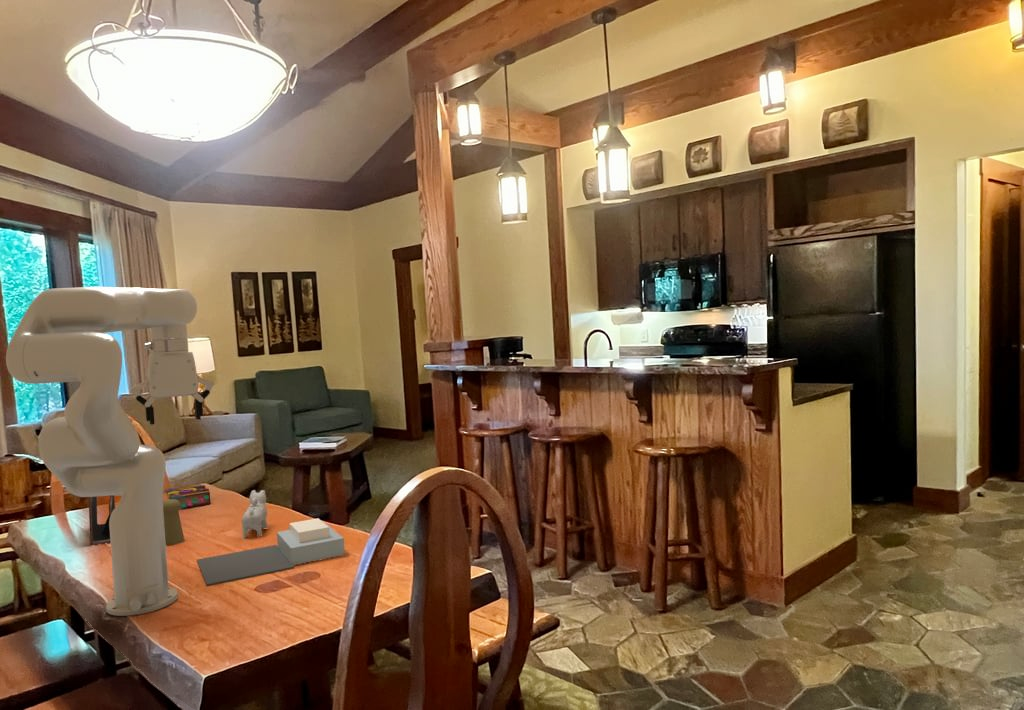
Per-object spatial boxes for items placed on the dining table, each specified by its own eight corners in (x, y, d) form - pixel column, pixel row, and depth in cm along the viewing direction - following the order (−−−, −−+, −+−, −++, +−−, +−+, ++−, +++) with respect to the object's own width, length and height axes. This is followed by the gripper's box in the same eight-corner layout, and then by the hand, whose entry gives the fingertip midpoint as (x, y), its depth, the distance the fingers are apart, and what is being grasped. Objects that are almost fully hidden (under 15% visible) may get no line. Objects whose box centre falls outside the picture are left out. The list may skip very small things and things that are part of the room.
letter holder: (90, 546, 183) (86, 493, 182) (95, 529, 201) (91, 480, 200) (133, 540, 188) (130, 487, 187) (134, 523, 205) (131, 475, 205)
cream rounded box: (329, 537, 166) (329, 527, 166) (299, 542, 162) (298, 532, 162) (318, 527, 175) (318, 518, 175) (290, 533, 171) (289, 523, 171)
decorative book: (203, 497, 236) (202, 482, 236) (212, 506, 223) (211, 490, 222) (165, 503, 230) (164, 488, 230) (172, 512, 216) (171, 496, 216)
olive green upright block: (156, 546, 179) (153, 504, 179) (161, 540, 185) (158, 498, 185) (182, 543, 181) (179, 501, 180) (186, 537, 187) (183, 496, 186)
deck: (344, 555, 165) (343, 538, 165) (292, 565, 159) (291, 548, 159) (326, 539, 179) (325, 523, 178) (277, 548, 173) (276, 532, 173)
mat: (294, 568, 157) (294, 566, 157) (206, 586, 148) (206, 584, 148) (276, 546, 174) (276, 544, 174) (197, 561, 166) (196, 559, 166)
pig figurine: (271, 524, 195) (269, 486, 195) (262, 537, 183) (259, 497, 182) (251, 526, 195) (249, 488, 194) (241, 539, 182) (238, 498, 182)
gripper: (128, 349, 154) (134, 427, 155) (213, 345, 163) (218, 418, 164) (126, 349, 160) (131, 424, 161) (207, 345, 169) (212, 415, 170)
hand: (175, 421), depth 162 cm, fingers open, 9 cm apart
